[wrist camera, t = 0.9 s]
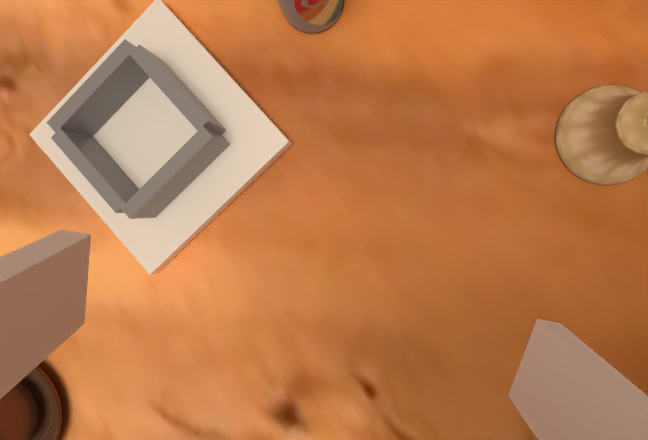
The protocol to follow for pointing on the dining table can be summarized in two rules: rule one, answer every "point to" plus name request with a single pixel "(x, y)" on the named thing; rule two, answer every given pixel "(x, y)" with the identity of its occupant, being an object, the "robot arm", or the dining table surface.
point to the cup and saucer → (31, 409)
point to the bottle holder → (159, 138)
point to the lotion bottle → (312, 13)
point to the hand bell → (605, 135)
